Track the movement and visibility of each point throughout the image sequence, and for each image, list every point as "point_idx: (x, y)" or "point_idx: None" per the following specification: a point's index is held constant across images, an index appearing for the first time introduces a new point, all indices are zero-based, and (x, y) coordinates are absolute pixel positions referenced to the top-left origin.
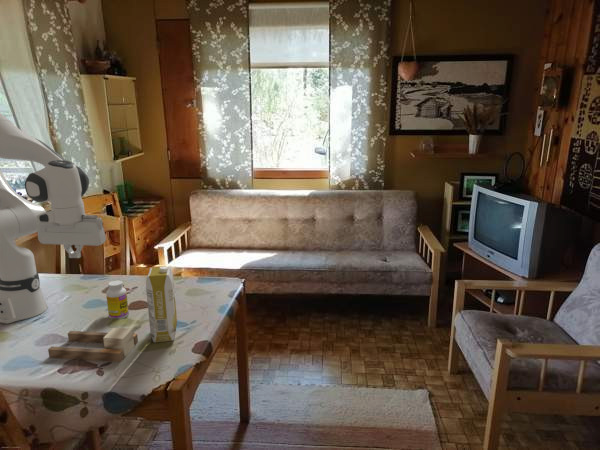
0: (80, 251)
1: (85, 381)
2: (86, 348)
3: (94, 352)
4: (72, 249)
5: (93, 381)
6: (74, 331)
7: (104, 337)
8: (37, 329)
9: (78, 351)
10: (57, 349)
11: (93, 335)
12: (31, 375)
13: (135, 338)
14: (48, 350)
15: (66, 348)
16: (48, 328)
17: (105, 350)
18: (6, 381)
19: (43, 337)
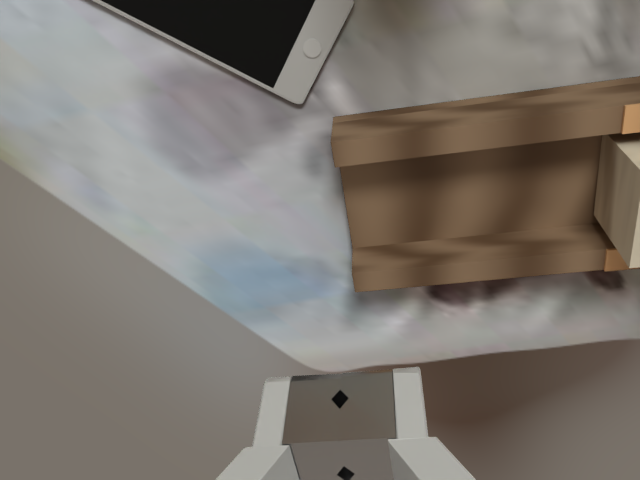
0: (436, 442)
1: (573, 323)
2: (523, 257)
3: (575, 271)
4: (269, 476)
5: (603, 318)
6: (356, 143)
7: (634, 265)
8: (48, 50)
9: (497, 277)
10: (396, 285)
11: (481, 148)
12: (357, 330)
13: None
14: (356, 289)
15: (430, 273)
16: (92, 25)
17: None
18: (304, 363)
19: (157, 112)
